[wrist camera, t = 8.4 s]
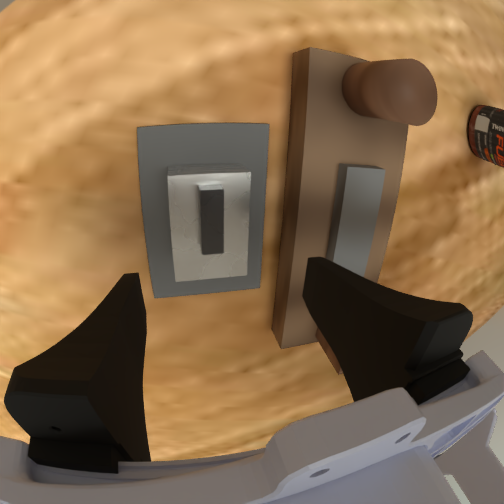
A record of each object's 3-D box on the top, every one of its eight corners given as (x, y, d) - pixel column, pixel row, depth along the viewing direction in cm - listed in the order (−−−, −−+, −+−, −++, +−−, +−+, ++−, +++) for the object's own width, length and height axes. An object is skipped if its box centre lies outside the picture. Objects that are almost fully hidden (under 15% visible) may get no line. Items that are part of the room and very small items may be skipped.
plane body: (348, 315, 28) (386, 364, 22) (271, 329, 26) (299, 390, 20) (389, 75, 17) (460, 78, 11) (293, 53, 15) (353, 33, 9)
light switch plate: (237, 254, 21) (250, 283, 18) (174, 259, 20) (176, 291, 16) (240, 162, 18) (255, 176, 15) (168, 165, 17) (166, 180, 14)
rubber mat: (258, 284, 23) (259, 287, 23) (154, 295, 21) (154, 298, 21) (267, 123, 17) (269, 124, 17) (137, 127, 16) (137, 127, 15)
